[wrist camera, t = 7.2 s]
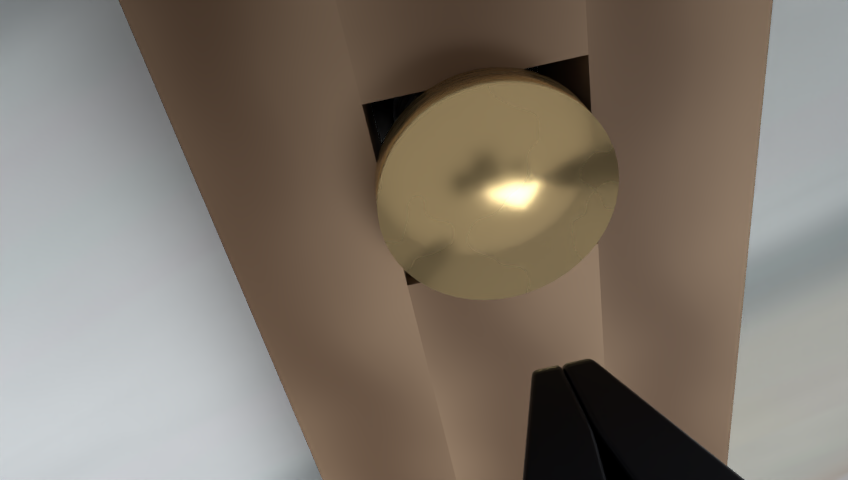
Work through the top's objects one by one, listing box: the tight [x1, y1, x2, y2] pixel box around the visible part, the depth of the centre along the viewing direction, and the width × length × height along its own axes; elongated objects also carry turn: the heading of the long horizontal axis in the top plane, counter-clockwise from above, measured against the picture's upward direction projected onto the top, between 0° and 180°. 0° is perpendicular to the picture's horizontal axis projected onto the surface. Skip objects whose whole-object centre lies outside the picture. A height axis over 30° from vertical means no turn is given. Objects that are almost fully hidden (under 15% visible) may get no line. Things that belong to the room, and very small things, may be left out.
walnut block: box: [119, 0, 773, 480], centre depth 20 cm, size 12×26×4 cm, turn 11°
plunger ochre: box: [375, 67, 619, 300], centre depth 16 cm, size 5×5×5 cm
